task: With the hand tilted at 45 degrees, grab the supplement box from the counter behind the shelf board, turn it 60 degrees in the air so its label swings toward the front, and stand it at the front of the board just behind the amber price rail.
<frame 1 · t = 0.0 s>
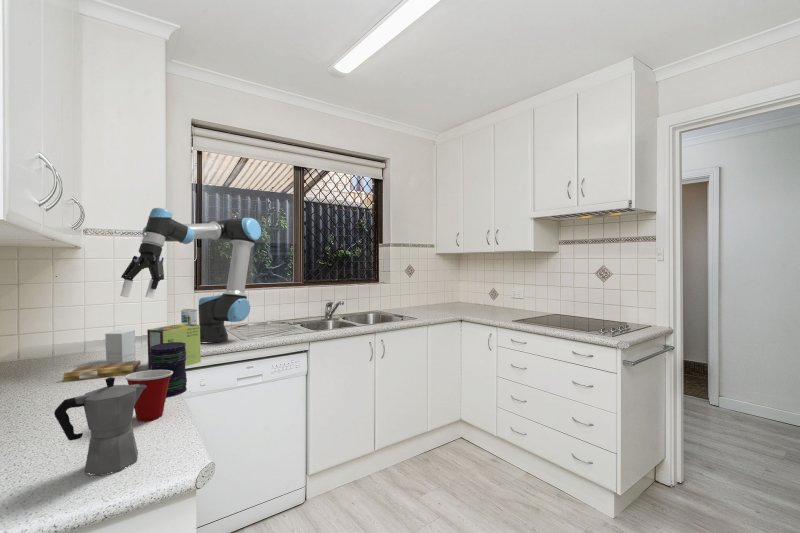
hand: (136, 297, 148), 28 cm above the worktop, tool tilted 20°, fingers open, 13 cm apart
syrup box: (189, 335, 214), on the worktop
protein box: (175, 365, 153), on the worktop
plastic cup: (150, 417, 103), on the worktop
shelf: (105, 372, 144), on the worktop
supplement box: (121, 362, 159), on the worktop
coffeepot: (106, 467, 79), on the worktop
storage jar: (169, 392, 122), on the worktop
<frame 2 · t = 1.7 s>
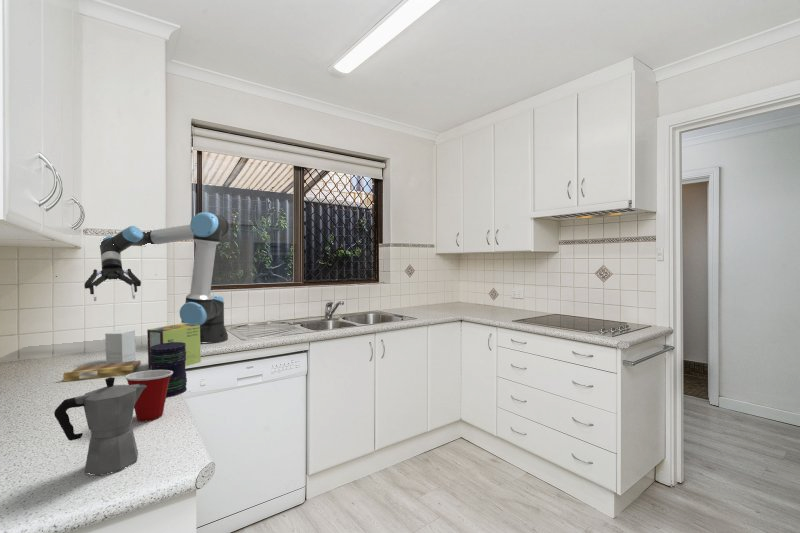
hand: (115, 298, 168), 26 cm above the worktop, tool tilted 45°, fingers open, 13 cm apart
nothing on the worktop moved.
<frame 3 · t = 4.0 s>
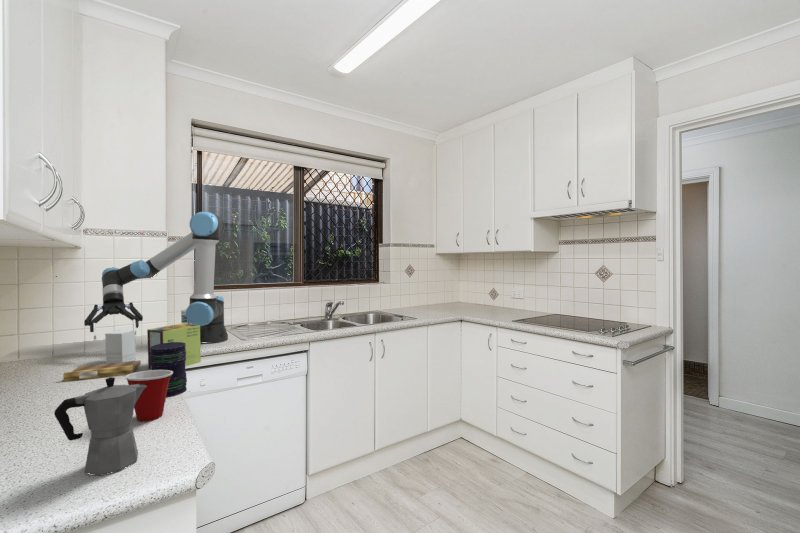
hand: (115, 335, 162), 10 cm above the worktop, tool tilted 45°, fingers open, 13 cm apart
nothing on the worktop moved.
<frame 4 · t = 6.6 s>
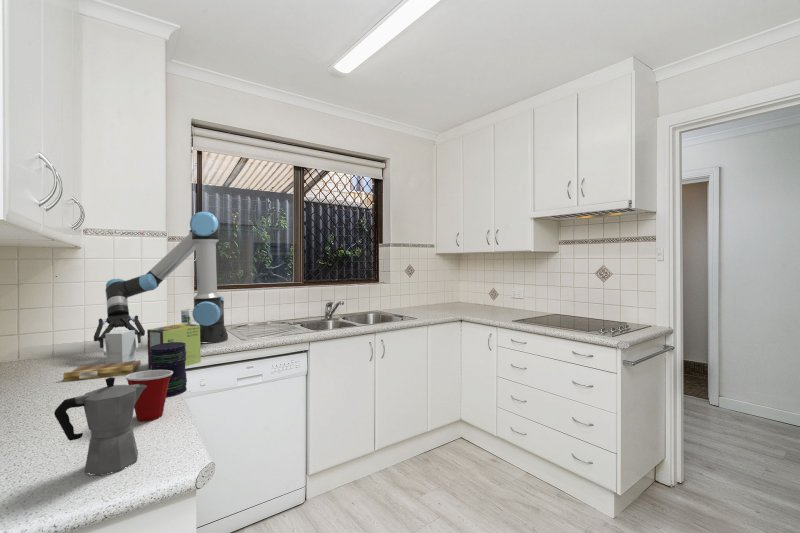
hand: (121, 351, 156), 5 cm above the worktop, tool tilted 45°, fingers closed on supplement box, 10 cm apart
supplement box: (121, 362, 159), on the worktop, touching gripper
everything else where it was.
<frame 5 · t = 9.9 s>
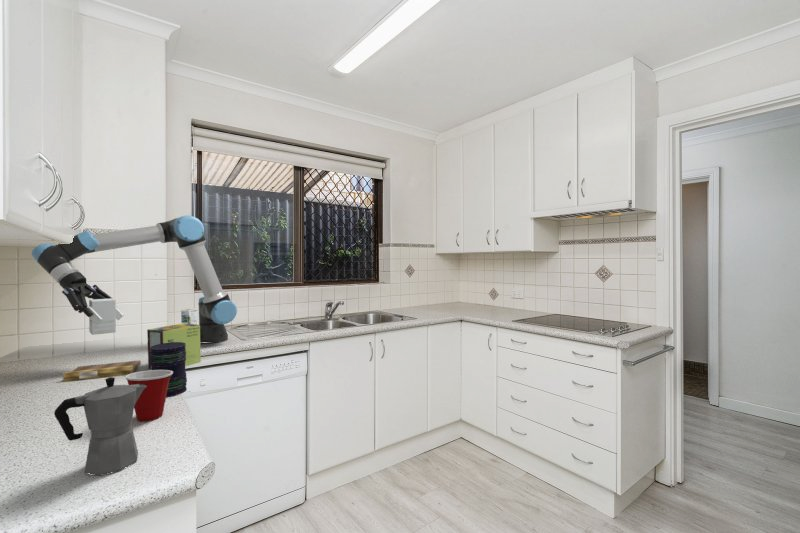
hand: (110, 319, 146), 20 cm above the worktop, tool tilted 45°, fingers closed on supplement box, 10 cm apart
supplement box: (102, 333, 146), point 14 cm above the worktop, touching gripper
everything else where it was.
when the fingers open (8 cm above the worktop, at t = 13.2 s): supplement box drops 1 cm, resting on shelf.
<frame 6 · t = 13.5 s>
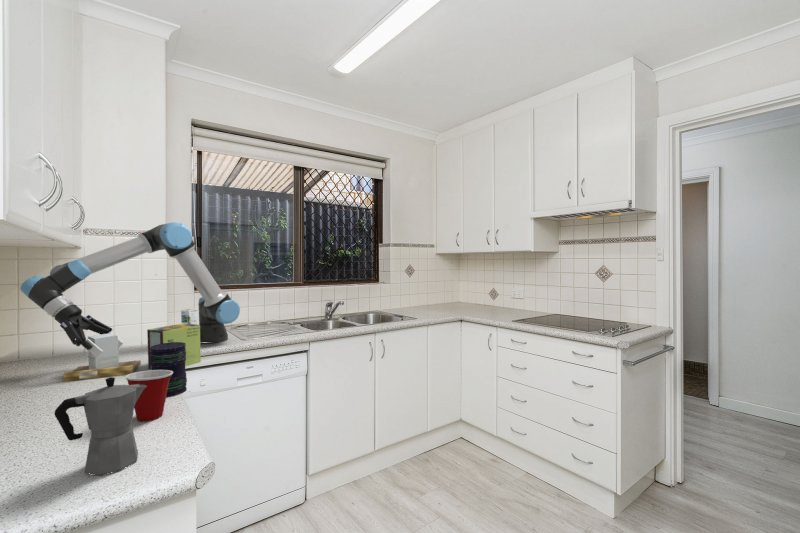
hand: (110, 349, 144), 9 cm above the worktop, tool tilted 45°, fingers open, 13 cm apart
supplement box: (103, 369, 143), point 1 cm above the worktop, touching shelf
everything else where it was.
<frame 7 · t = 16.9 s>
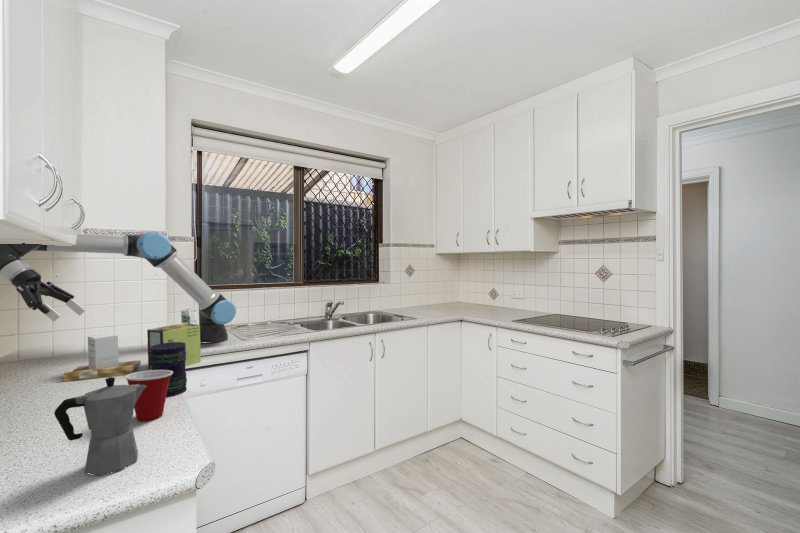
hand: (70, 315, 141), 22 cm above the worktop, tool tilted 45°, fingers open, 13 cm apart
nothing on the worktop moved.
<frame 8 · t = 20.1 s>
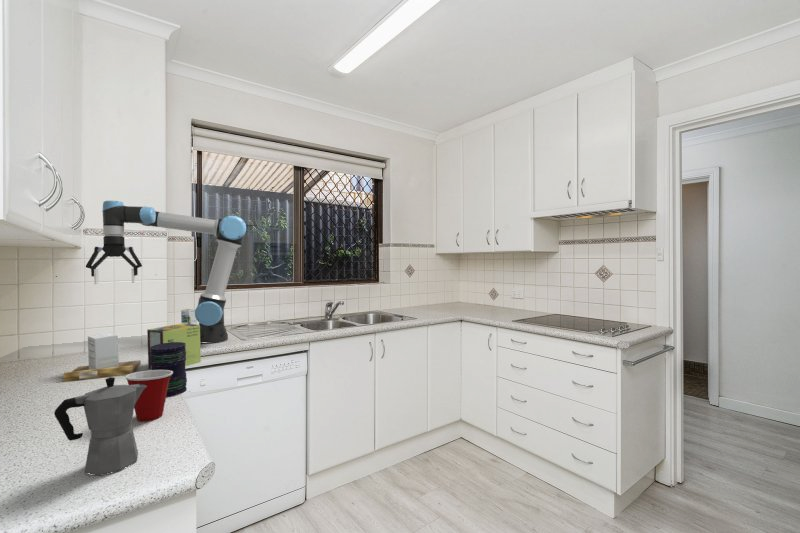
hand: (115, 283, 172), 32 cm above the worktop, tool pointing down, fingers open, 13 cm apart
nothing on the worktop moved.
at the end: supplement box inside the target area on the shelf (0.1 cm from its centre), point 1.3 cm above the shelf's base; supplement box tilted 0°; the gripper is holding nothing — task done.
